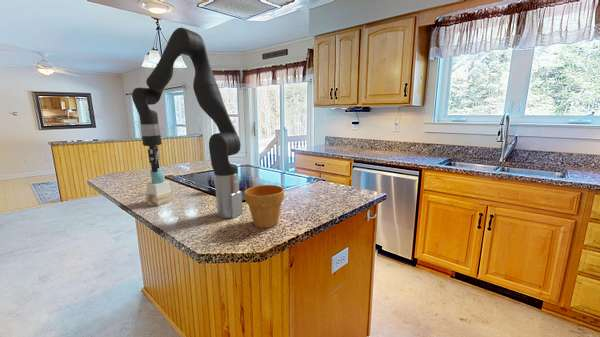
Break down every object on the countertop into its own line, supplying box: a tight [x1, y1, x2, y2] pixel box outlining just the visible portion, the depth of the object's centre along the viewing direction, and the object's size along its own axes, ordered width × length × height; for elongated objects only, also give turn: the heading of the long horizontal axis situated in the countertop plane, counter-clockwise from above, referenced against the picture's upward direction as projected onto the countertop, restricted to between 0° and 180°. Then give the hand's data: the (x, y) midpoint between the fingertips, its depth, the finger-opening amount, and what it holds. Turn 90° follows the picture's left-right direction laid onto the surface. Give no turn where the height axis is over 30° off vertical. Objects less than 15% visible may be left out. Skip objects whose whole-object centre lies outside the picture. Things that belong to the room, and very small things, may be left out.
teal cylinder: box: [149, 167, 165, 184], centre depth 129 cm, size 5×5×6 cm
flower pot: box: [244, 184, 285, 229], centre depth 104 cm, size 14×14×13 cm
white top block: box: [145, 179, 171, 196], centre depth 130 cm, size 7×7×5 cm
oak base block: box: [145, 191, 174, 208], centre depth 131 cm, size 8×8×5 cm
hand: (155, 170), depth 128 cm, fingers open, 8 cm apart
